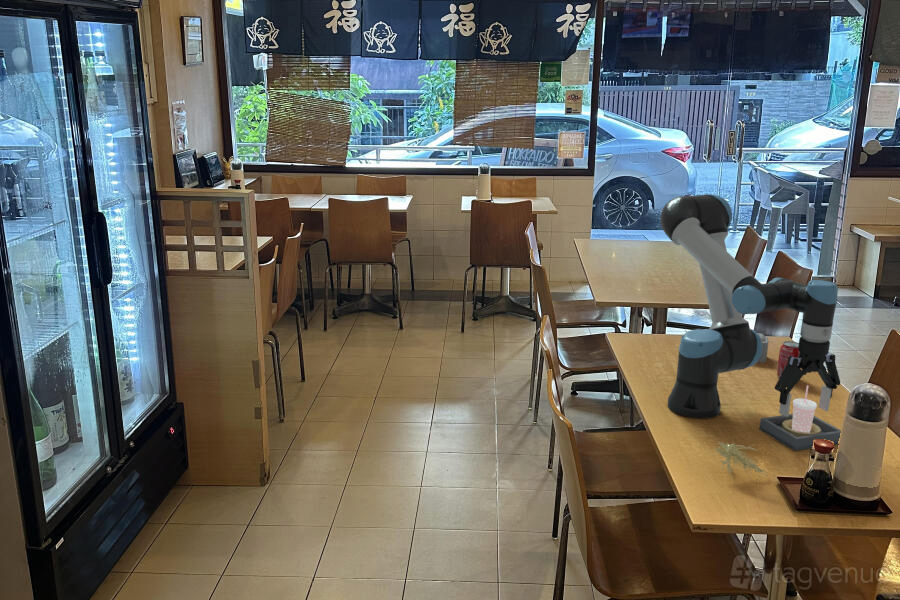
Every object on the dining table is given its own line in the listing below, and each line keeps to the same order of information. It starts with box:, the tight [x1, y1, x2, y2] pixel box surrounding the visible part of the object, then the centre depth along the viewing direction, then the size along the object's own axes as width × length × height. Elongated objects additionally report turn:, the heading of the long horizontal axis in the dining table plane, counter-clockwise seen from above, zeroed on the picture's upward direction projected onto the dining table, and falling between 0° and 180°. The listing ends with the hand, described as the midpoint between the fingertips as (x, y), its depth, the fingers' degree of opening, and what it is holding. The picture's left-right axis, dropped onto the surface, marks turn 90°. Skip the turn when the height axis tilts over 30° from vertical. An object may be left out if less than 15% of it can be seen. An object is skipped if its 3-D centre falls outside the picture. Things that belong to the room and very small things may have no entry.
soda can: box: [776, 340, 802, 378], centre depth 267 cm, size 7×7×12 cm
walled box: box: [758, 413, 841, 452], centre depth 224 cm, size 16×14×4 cm
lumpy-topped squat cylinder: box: [756, 332, 769, 363], centre depth 288 cm, size 10×13×9 cm
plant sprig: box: [715, 433, 769, 482], centre depth 201 cm, size 11×15×9 cm
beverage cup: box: [792, 384, 818, 433], centre depth 222 cm, size 6×6×14 cm
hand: (803, 412), depth 223 cm, fingers open, 13 cm apart
